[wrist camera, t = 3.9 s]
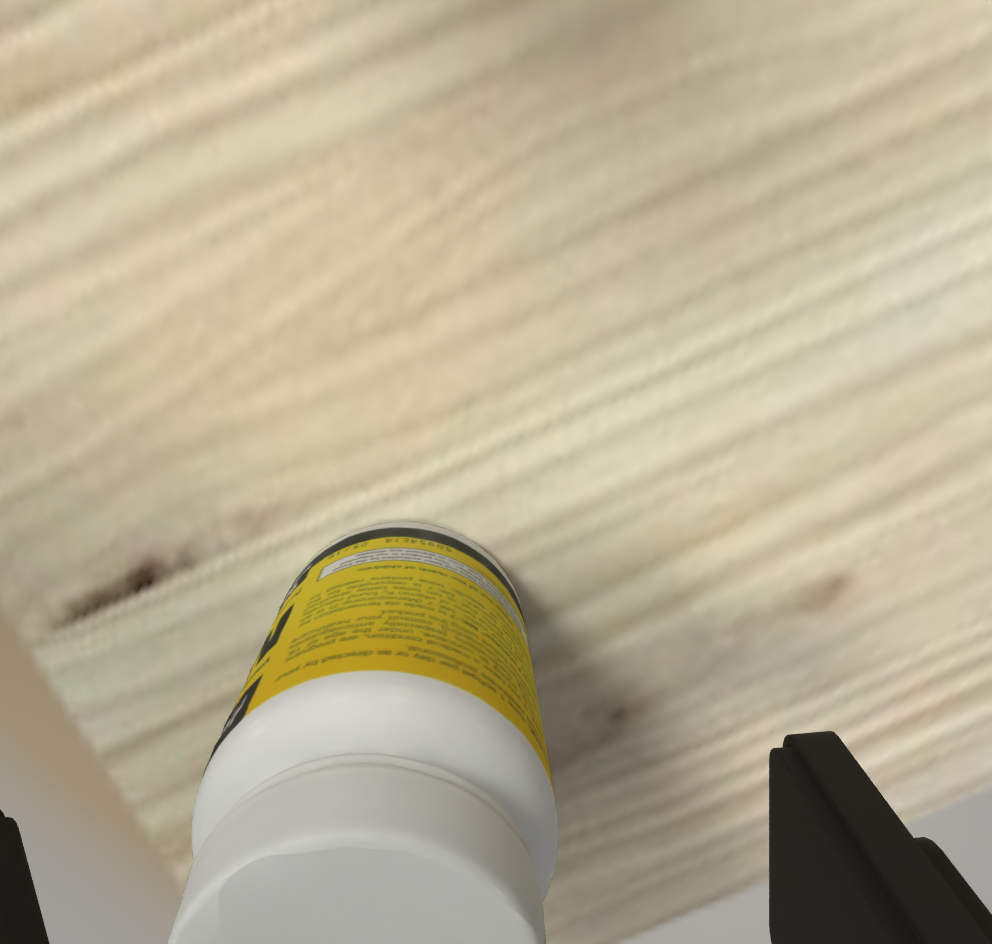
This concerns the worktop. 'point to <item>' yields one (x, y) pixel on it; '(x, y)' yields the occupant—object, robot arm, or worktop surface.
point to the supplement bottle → (380, 761)
